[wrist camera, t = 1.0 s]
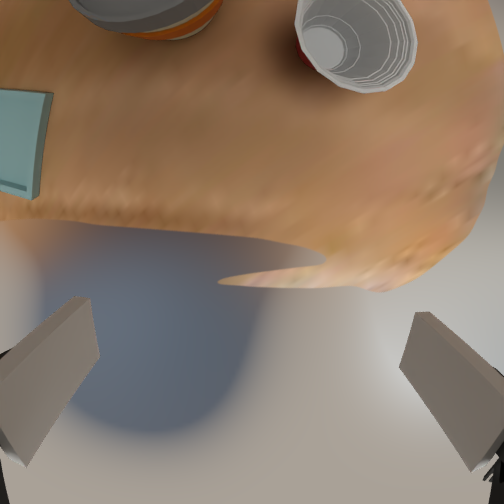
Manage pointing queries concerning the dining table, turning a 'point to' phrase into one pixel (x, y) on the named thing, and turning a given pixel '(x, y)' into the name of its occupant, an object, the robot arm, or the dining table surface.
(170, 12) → the reusable coffee cup
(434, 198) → the dining table surface
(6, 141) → the tray
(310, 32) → the plastic cup
